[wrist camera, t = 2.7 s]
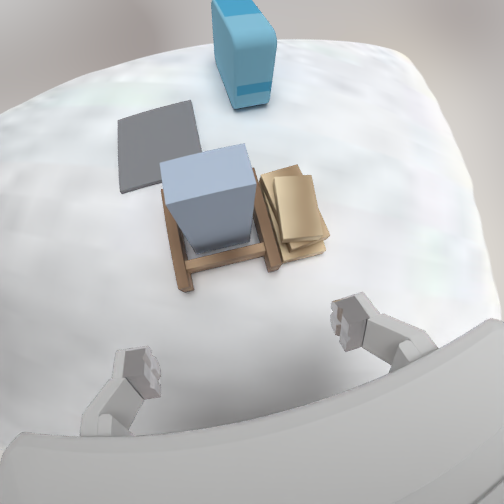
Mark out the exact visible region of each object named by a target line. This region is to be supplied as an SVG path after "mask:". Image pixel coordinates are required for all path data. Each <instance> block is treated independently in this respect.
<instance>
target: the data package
mask: <svg viewBox="0 0 504 504" xmlns="http://www.w3.org/2000/svg"><path fill="white" fill-rule="evenodd" d="M211 9H212V24H213V38H214V39H213V40H214V54H215V60H216V64H217V67H218V70H219V72H220V75H221V78H222V80H223V83H224V86H225V88H226V91H227V94H228V96H229V99H230V102H231V105H232V107H233V108H234V109H238V108H243V107H249V106H254V105H260V104H266V103H268V102H269V100H270V93H271V85H272V78H273V71H274V63H275V56H276V48H277V38H276V33H275V31H274V29H273V27H272V26H271V25H270V23H269V22H268V21H267V19H266V18H265V17H264V15H263V14H262V13H261V11H260V10H259V9H258V7H257V6H256V5H255V4H254V2H253V1H252V0H212V3H211Z"/></svg>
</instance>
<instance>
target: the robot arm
mask: <svg viewBox="0 0 504 504" xmlns="http://www.w3.org/2000/svg"><path fill="white" fill-rule="evenodd" d="M331 309H332V311H333V312H332V314H331V315H330V321H331V326H332V329H333V331H334V333H335V335H337V336H340V340H339V342H340V344H341V345H342V347H343V349H344V351H345V352H347V351H350V350H353V349H356V348H359V347H362V348H364V349H366V350H367V351H369V352H370V353H372V354H374V355H375V356H377V357H378V358H380V359H382V360H383V361H385V362H387V363H388V364H390V365H392V366H391V368H390V371H389V373H388V374H386V375H384V376H382V377H380V378H377V379H375V380H372V381H370V382H368V383H365V384H363V385H360V386H358V387H355V388H353V389H350V390H347V391H345V392H342V393H339V394H336V395H334V396H331V397H328V398H325V399H322V400H319V401H316V402H313V403H310V404H306V405H303V406H300V407H296V408H293V409H290V410H286V411H282V412H279V413H275V414H271V415H267V416H263V417H259V418H255V419H251V420H246V421H241V422H237V423H232V424H227V425H221V426H216V427H210V428H204V429H197V430H191V431H183V432H175V433H166V434H155V435H142V436H135V435H133V434H132V433H131V432H130V431H128V430H129V428H130V426H131V424H132V422H133V420H134V418H135V416H136V415H137V413H138V411H139V409H140V407H141V405H142V404H143V402H144V399H151V398H158V397H161V384H160V383H159V381H158V380H159V378H160V377H161V370H160V365H159V363H158V360H157V359H156V357H154V356H152V350H151V349H150V347H149V346H143V347H136V348H129V349H123V350H117V352H116V354H115V360H114V367H113V374H112V379H110V380H108V382H107V383H106V384H105V385H104V387H103V388H102V389H101V391H100V392H99V393H98V394H97V396H96V397H95V398H94V400H93V401H92V402H91V403H90V405H89V406H88V407H87V409H86V410H85V411H84V413H83V414H82V420H81V428H80V437H78V436H59V435H47V434H37V433H30V432H22V433H20V434H19V435H18V436H16V438H15V439H14V440H13V441H12V442H11V443H10V444H9V446H8V447H7V448H6V449H5V451H4V453H3V455H2V458H1V461H0V504H504V322H503V321H500V320H497V319H493V318H490V319H487V320H485V321H484V322H482V323H481V324H479V325H478V326H476V327H474V328H473V329H471V330H470V331H468V332H466V333H465V334H463V335H462V336H460V337H458V338H457V339H455V340H453V341H451V342H450V343H448V344H446V345H444V346H443V347H441V348H438V347H437V346H436V344H435V343H434V342H433V340H432V339H431V338H430V337H429V335H428V334H427V333H426V331H424V330H422V329H419V328H417V327H414V326H412V325H410V324H407V323H405V322H402V321H400V320H398V319H395V318H393V317H391V316H388V315H386V314H380V313H379V311H378V310H377V309H376V308H375V306H374V305H373V304H372V302H371V301H370V300H369V298H368V297H367V296H366V295H365V293H363V292H360V293H357V294H354V295H351V296H348V297H344V298H341V299H338V300H335V301H332V303H331Z"/></svg>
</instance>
